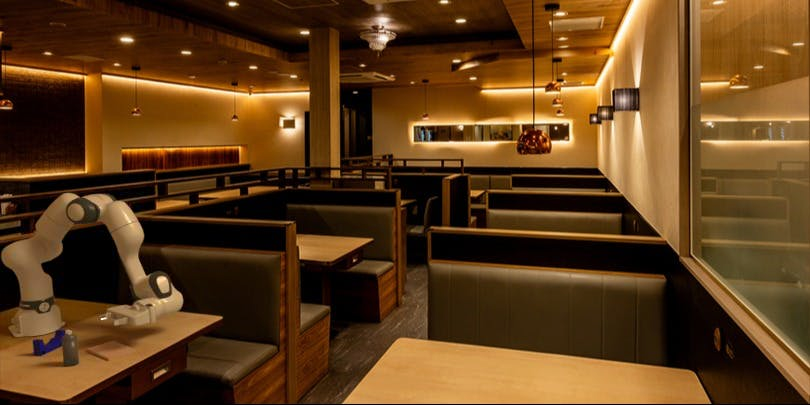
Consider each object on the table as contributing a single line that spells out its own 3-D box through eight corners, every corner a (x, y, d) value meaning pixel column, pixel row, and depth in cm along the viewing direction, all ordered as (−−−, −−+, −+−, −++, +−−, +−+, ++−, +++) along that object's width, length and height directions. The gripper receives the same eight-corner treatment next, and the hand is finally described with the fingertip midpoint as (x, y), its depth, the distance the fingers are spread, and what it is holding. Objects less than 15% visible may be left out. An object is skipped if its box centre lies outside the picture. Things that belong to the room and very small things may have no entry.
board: (87, 351, 210) (86, 348, 210) (113, 343, 218) (113, 340, 218) (108, 360, 201) (108, 358, 201) (135, 351, 209) (135, 349, 209)
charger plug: (61, 364, 198) (58, 331, 196) (75, 360, 201) (72, 327, 200) (67, 367, 195) (64, 333, 193) (81, 363, 199) (78, 329, 197)
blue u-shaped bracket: (56, 344, 218) (54, 329, 218) (66, 344, 218) (65, 329, 217) (30, 355, 207) (29, 340, 206) (41, 356, 206) (39, 340, 205)
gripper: (127, 299, 224) (92, 308, 213) (156, 307, 212) (120, 317, 201) (129, 314, 225) (93, 324, 213) (157, 323, 213) (121, 334, 202)
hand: (106, 320), depth 207 cm, fingers open, 8 cm apart
